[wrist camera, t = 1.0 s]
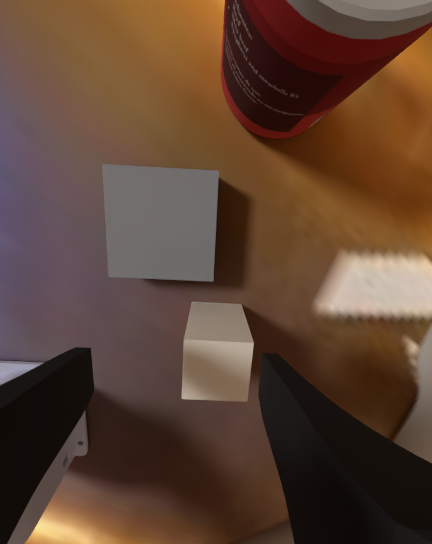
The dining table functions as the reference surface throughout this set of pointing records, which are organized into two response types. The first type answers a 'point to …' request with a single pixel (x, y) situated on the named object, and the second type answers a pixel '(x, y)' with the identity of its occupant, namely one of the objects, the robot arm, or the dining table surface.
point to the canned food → (308, 55)
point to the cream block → (217, 353)
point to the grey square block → (160, 222)
